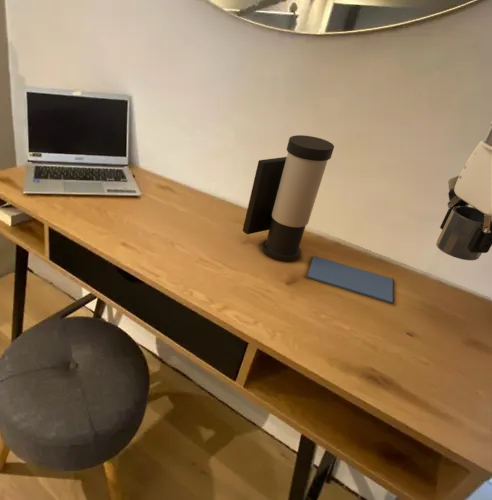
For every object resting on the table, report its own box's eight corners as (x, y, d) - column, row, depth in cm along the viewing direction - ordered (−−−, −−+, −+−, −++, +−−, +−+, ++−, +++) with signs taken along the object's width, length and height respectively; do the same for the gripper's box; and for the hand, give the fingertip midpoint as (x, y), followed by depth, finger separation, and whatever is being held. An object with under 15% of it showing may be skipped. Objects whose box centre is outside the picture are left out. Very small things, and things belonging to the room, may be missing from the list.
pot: (462, 240, 86) (479, 206, 83) (488, 260, 81) (508, 225, 77) (427, 239, 86) (444, 204, 82) (452, 260, 80) (470, 223, 76)
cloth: (392, 280, 97) (392, 278, 97) (391, 303, 90) (392, 301, 90) (313, 257, 103) (313, 255, 102) (307, 277, 95) (307, 275, 95)
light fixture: (272, 267, 98) (304, 152, 85) (239, 241, 106) (264, 133, 93) (314, 256, 103) (350, 147, 90) (279, 232, 111) (308, 129, 98)
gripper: (584, 162, 66) (520, 268, 75) (494, 125, 81) (449, 217, 90) (536, 160, 65) (477, 267, 74) (454, 122, 80) (413, 216, 89)
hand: (462, 239), depth 82 cm, fingers closed on pot, 6 cm apart
